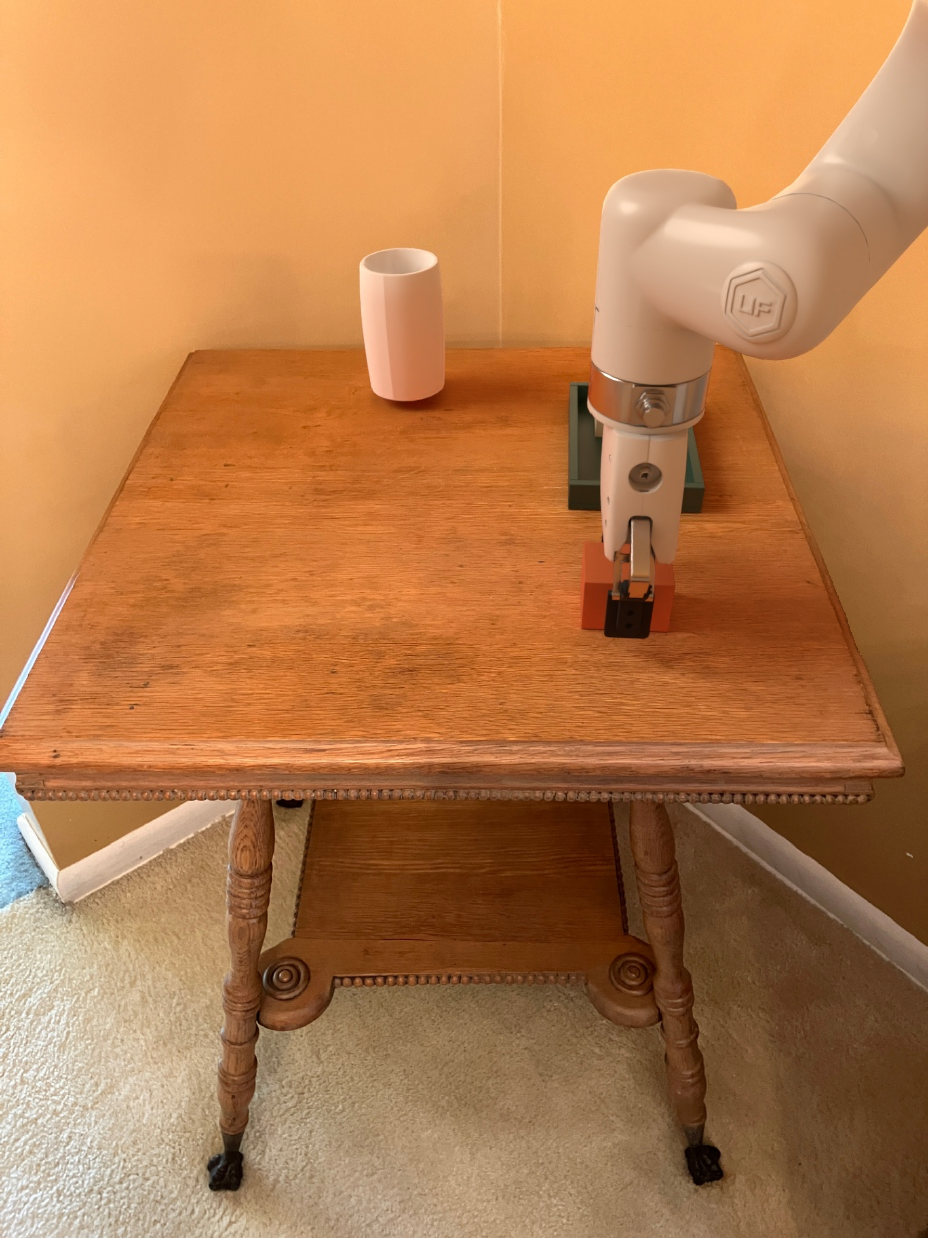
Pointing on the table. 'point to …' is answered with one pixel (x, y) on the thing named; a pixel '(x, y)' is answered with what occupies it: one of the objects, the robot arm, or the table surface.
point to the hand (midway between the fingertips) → (623, 592)
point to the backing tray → (588, 459)
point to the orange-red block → (601, 576)
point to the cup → (403, 323)
